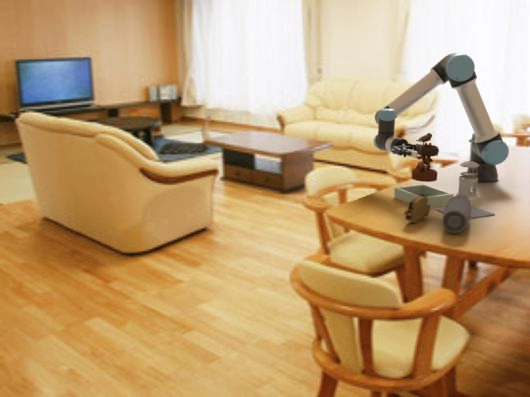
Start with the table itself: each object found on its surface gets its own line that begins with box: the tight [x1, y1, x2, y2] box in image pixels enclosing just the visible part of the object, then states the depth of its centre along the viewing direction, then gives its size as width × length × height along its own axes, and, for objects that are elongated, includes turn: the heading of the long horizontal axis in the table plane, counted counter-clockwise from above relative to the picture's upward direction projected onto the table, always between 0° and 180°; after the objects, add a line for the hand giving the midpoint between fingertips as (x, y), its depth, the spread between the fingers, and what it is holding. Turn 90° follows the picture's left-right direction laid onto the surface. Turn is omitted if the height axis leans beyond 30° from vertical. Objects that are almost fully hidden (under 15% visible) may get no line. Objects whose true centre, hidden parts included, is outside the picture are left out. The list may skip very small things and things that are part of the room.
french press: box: [455, 138, 480, 199], centre depth 256 cm, size 10×12×25 cm
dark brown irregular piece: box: [411, 132, 440, 183], centre depth 246 cm, size 15×11×20 cm
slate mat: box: [434, 205, 495, 220], centre depth 232 cm, size 16×16×1 cm
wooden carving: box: [403, 195, 432, 224], centre depth 221 cm, size 16×5×10 cm, turn 141°
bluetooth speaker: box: [441, 194, 472, 234], centre depth 213 cm, size 23×9×10 cm, turn 157°
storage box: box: [393, 183, 455, 208], centre depth 250 cm, size 15×20×4 cm
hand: (427, 153), depth 244 cm, fingers closed on dark brown irregular piece, 10 cm apart
